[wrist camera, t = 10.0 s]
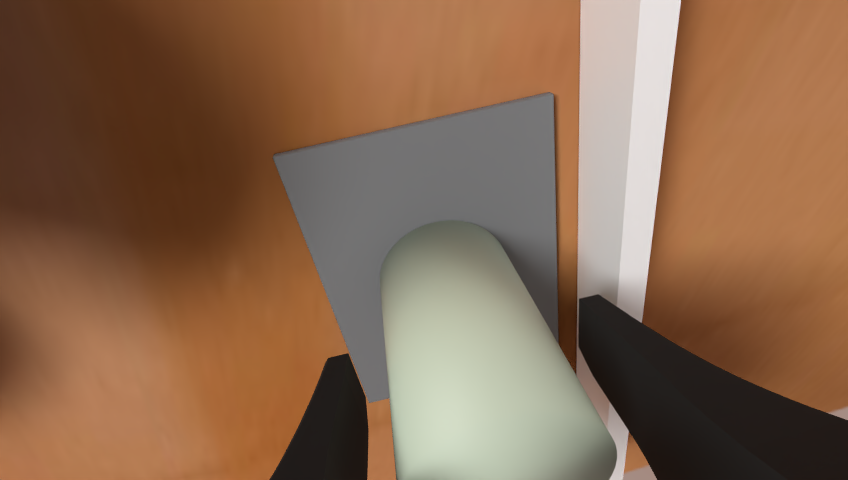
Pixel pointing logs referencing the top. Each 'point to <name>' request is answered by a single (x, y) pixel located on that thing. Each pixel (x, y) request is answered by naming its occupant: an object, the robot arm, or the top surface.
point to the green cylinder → (479, 368)
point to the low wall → (620, 161)
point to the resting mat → (425, 207)
